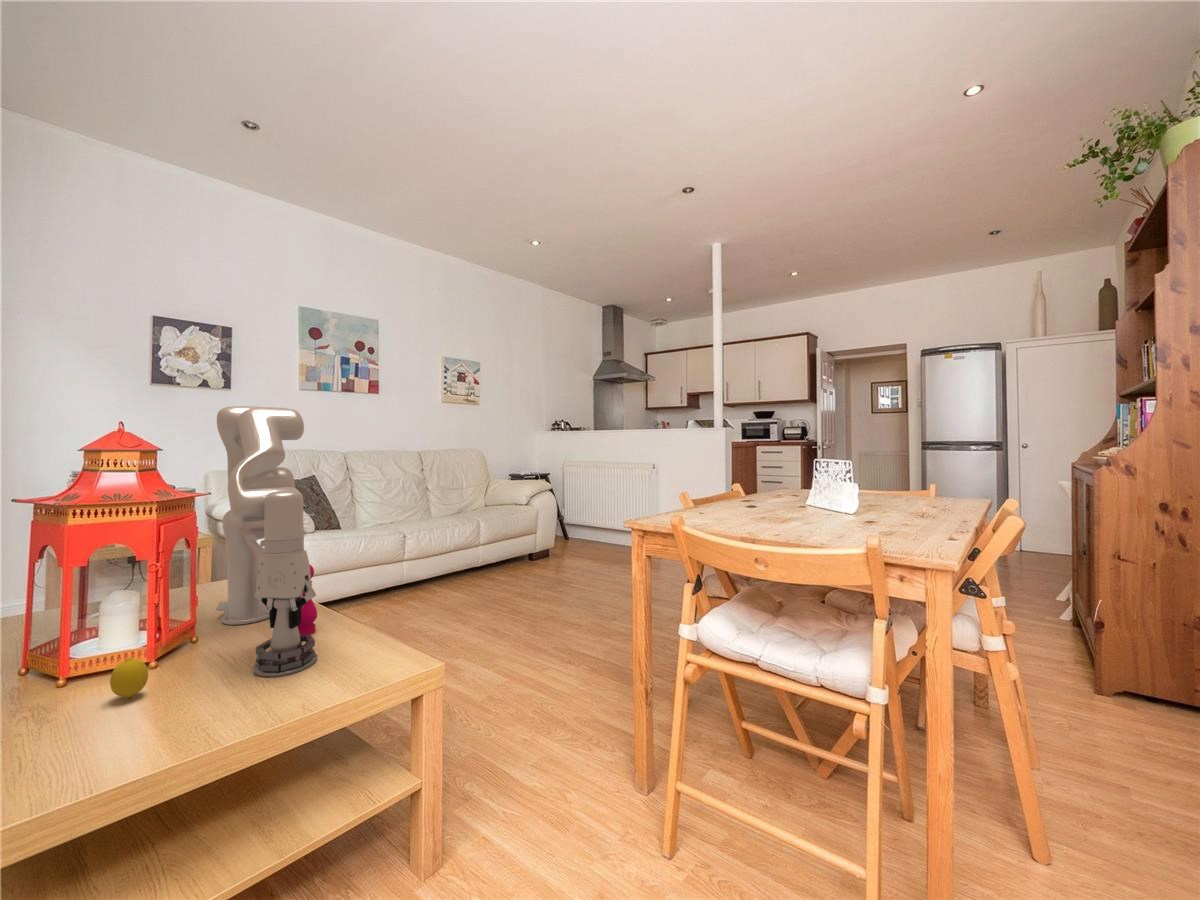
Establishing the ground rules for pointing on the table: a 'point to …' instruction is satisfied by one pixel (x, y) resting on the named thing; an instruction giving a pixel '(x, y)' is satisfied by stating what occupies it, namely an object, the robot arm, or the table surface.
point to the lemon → (129, 677)
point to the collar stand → (285, 659)
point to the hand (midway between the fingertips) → (285, 625)
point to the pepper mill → (308, 614)
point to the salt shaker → (283, 628)
